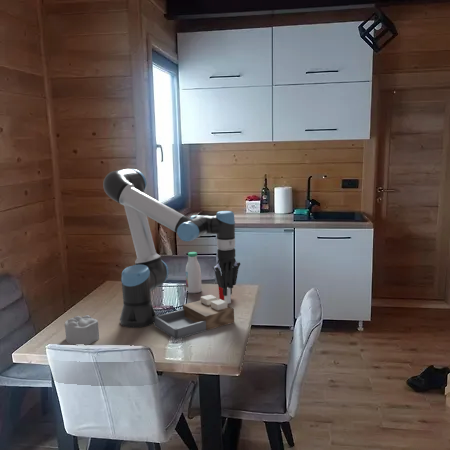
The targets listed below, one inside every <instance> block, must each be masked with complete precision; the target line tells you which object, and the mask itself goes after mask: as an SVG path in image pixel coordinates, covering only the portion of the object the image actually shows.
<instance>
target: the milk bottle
mask: <svg viewBox="0 0 450 450" xmlns="http://www.w3.org/2000/svg"><path fill="white" fill-rule="evenodd" d="M187 258H188V260H187V263H186V265H185V289H186V290H187V291H188V292H187V291H186V292H187V293H189V294H197V293H201V292H202V288H203V287H202V272H201V270H202V269H201V264H200V263H199V261H198V252H196V251H190V252H187Z"/></svg>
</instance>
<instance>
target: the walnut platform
mask: <svg viewBox="0 0 450 450" xmlns="http://www.w3.org/2000/svg"><path fill="white" fill-rule="evenodd" d="M182 309H184V313H185V317H187V318H189V319H190V320H192V321H194V322H196V323H197V322H201V321H204V320H205V321H206V331H209V330H213V329H216V328H220V327H223V326H226V325H230V324H233V323H235V309H234V307H231V306H229V305H227V308H225V309H221V310H215V309H213V308H211V305H205V304H203V303H201V299H200V300H196V301H192V302H189V303H188V302H187V303H183V304H182Z"/></svg>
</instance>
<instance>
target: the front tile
mask: <svg viewBox="0 0 450 450" xmlns="http://www.w3.org/2000/svg"><path fill="white" fill-rule="evenodd" d="M227 306H228V303H227V302H226V301H224V300H221V299H217V300H215V301H211V308H213V309H215V310H221V309H225V308H227Z"/></svg>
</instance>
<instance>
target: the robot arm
mask: <svg viewBox="0 0 450 450" xmlns="http://www.w3.org/2000/svg"><path fill="white" fill-rule="evenodd" d="M147 182H148V181H147V178H146V176H145V175H144V173H143V172H141V171H140V170H138V169H135V168H125V169H120V170H118V169H117V170H114V171H113V170H112V171H110V172H109V173H107V175H105V177H104V179H103V182H102V183H103V184H102V185H103V186H102V187H103V191H104V192H105V194H106V195H107V196H108V198H110V199H111V200H113V201H115V202H116V203H118V204H119V205H122V206H124V207H123V208H124V212H125V215H126V218H127V224H128V226H129V231H130V234H131V239H132V242H133V247H134V250H135V254H136V259H135V261H134V263H135V264H133V265H130V266H126V267H125V268H124V269H123V270H122V272H121V279H120V280H121V281H120V282H121V287H122V288H121V291H122V300H123V301H122V303H123V305H122V310H121V314H120V316H119V319H120V320H119V323H120V325H121V326H123V327H126V328H132V329H133V328H143V327H148V326H151V325H152V324H154V316H157V313H156V311H155V309H154V306H153V304H152V295H151V292H153V291H154V290H155V289H157V288H159V287H161V286H162V285H164V283H165V282H167V280H168V278H169V274H170V273H169V271H170V270H169V267H168V265H167V263H166V262H164V261H163V260H162V256H161V255H160V254H158V253H157V250H156V247H155V243H154V239H153V235H152V232H151V228H150V223H149V220H148V218H149V219H151V220H153V221H154V222H155V221H156V222H157V223H158V224H160V225H162V226H164V227H166V228H168V229H169V230H171V231H173V232H175V233H176V234H177V236H178V238H179V239H180V240H181V241H182V242H192V241H195V240H196V239H197V238H199V237H201V236H203V235H206V234H207V235H210V234H211V235H216V248H217V249H216V250H217V251H216V252H217V253H216V255H217V264H216V265H215V266H214V265H213V266H212V270H213V271H214V274H215V278H216V282H217V285H218V286H219V287H221V288H223V295H224V301H226V302H227V304H231V303H232V295H233V288H234V286H236V285H237V280H238V274H239V268H240V266H241V262H238V261H236V249H235V248H236V235H235V234H236V220H235V213H234V212H233V211H231V210H221V211H220V210H219V211H217V212H216V215H203V214H196V215H193V214H192V215H191V216H190V217H189V216H188V217H187V216H186V215H184V214H183V213H180V212H179V211H177V210H175V209H174V208H172V207H170V206H168V205H166V204H164V203H163V202H160V201H159V200H157V199H155V197H154V198H153V197H152V196H150V195H148V194H146V193H145V190H146V188H147ZM219 287H218V288H219Z"/></svg>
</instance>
